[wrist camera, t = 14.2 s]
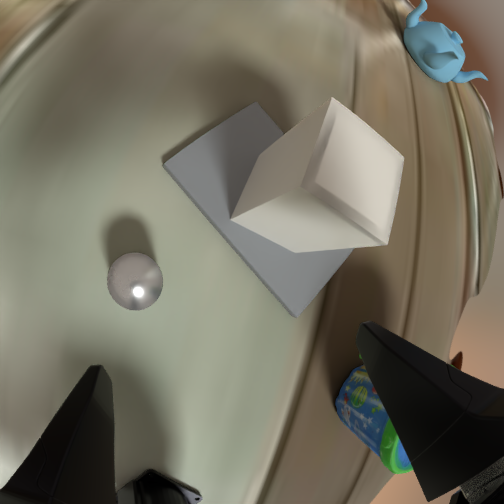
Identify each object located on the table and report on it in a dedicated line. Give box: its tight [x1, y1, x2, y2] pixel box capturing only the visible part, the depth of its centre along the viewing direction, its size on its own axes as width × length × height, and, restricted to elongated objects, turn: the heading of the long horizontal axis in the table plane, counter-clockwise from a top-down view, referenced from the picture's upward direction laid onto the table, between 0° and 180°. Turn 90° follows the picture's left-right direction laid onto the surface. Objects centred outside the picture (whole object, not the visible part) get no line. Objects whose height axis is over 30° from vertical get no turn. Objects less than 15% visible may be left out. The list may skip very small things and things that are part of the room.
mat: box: [163, 102, 354, 318], centre depth 24 cm, size 16×10×1 cm, turn 44°
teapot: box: [404, 0, 488, 83], centre depth 33 cm, size 15×15×10 cm
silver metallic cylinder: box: [107, 252, 163, 310], centre depth 18 cm, size 4×4×3 cm
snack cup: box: [335, 354, 454, 474], centre depth 22 cm, size 16×10×10 cm
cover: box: [230, 97, 404, 253], centre depth 19 cm, size 6×6×10 cm
